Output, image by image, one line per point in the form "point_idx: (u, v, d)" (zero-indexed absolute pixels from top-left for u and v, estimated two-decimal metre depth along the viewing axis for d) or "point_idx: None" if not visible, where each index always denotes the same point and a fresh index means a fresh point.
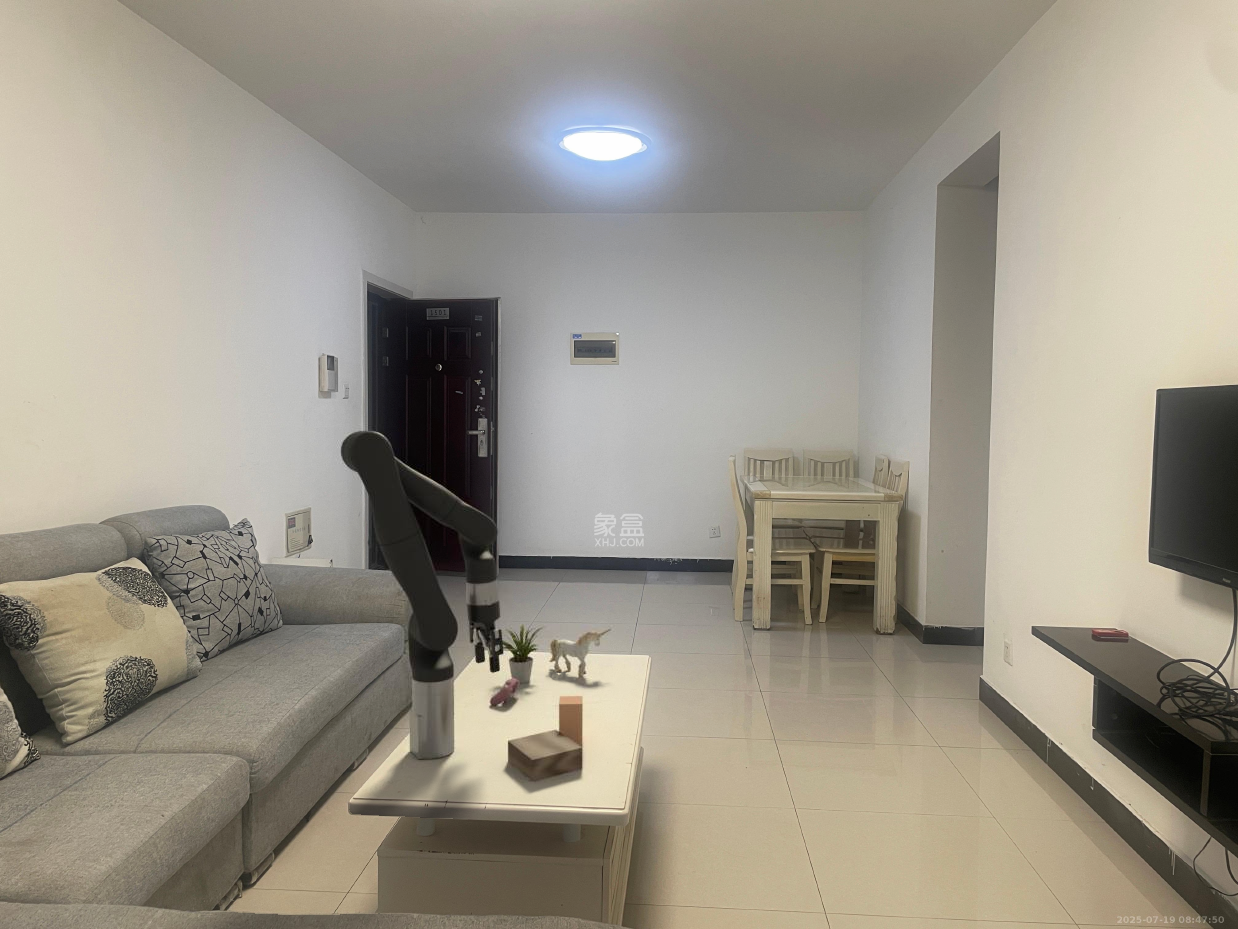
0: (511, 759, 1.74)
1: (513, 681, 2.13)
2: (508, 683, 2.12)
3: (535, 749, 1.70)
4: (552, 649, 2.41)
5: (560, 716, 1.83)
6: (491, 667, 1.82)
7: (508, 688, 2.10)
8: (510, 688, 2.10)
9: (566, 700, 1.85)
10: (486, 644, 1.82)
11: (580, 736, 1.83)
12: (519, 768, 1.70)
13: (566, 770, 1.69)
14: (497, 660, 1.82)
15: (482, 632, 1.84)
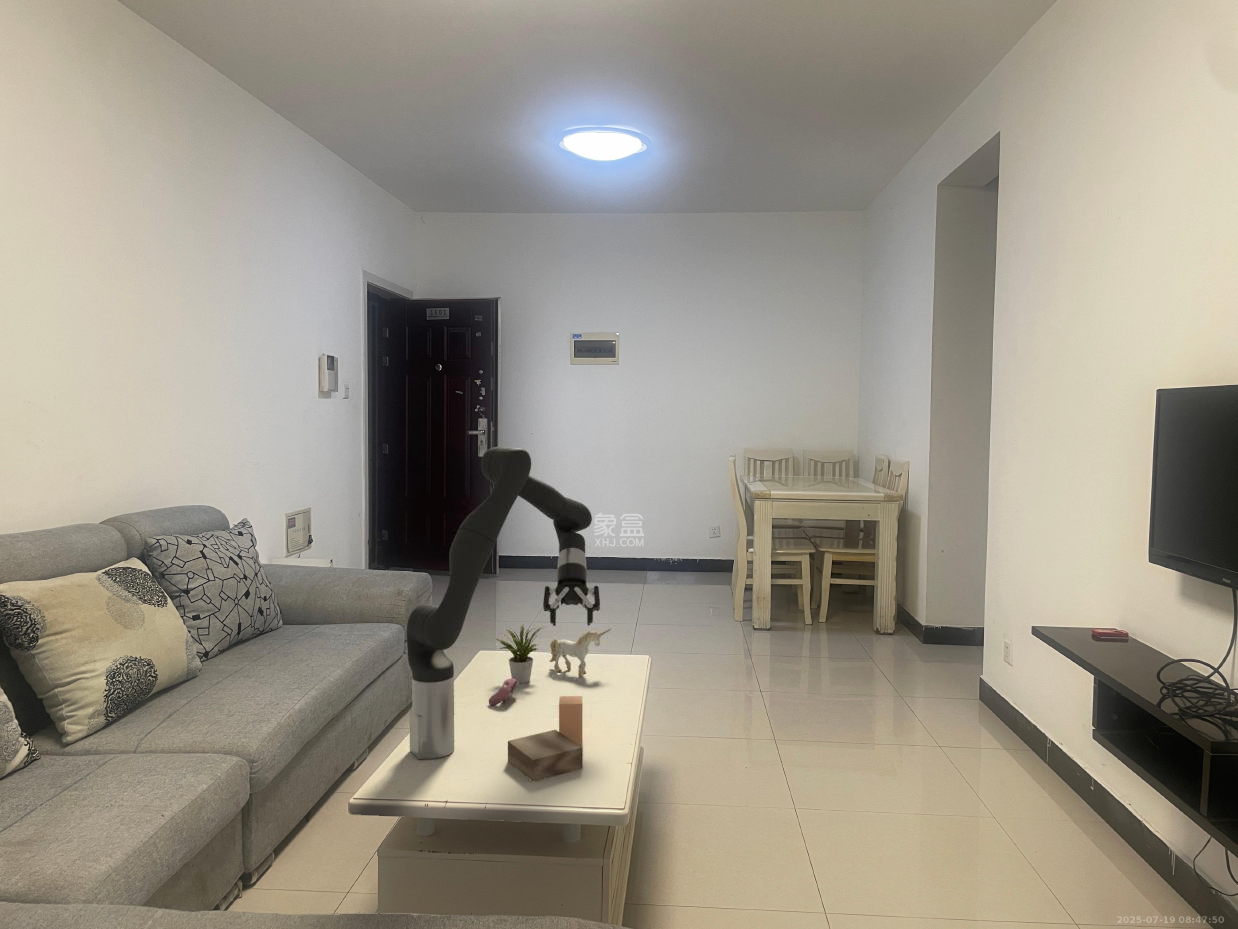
0: (511, 760, 1.73)
1: (512, 681, 2.13)
2: (507, 683, 2.12)
3: (535, 749, 1.70)
4: (552, 649, 2.41)
5: (560, 716, 1.83)
6: (589, 617, 1.97)
7: (507, 688, 2.10)
8: (509, 688, 2.10)
9: (566, 700, 1.85)
10: None
11: (580, 736, 1.83)
12: (519, 768, 1.70)
13: (566, 770, 1.69)
14: None
15: None
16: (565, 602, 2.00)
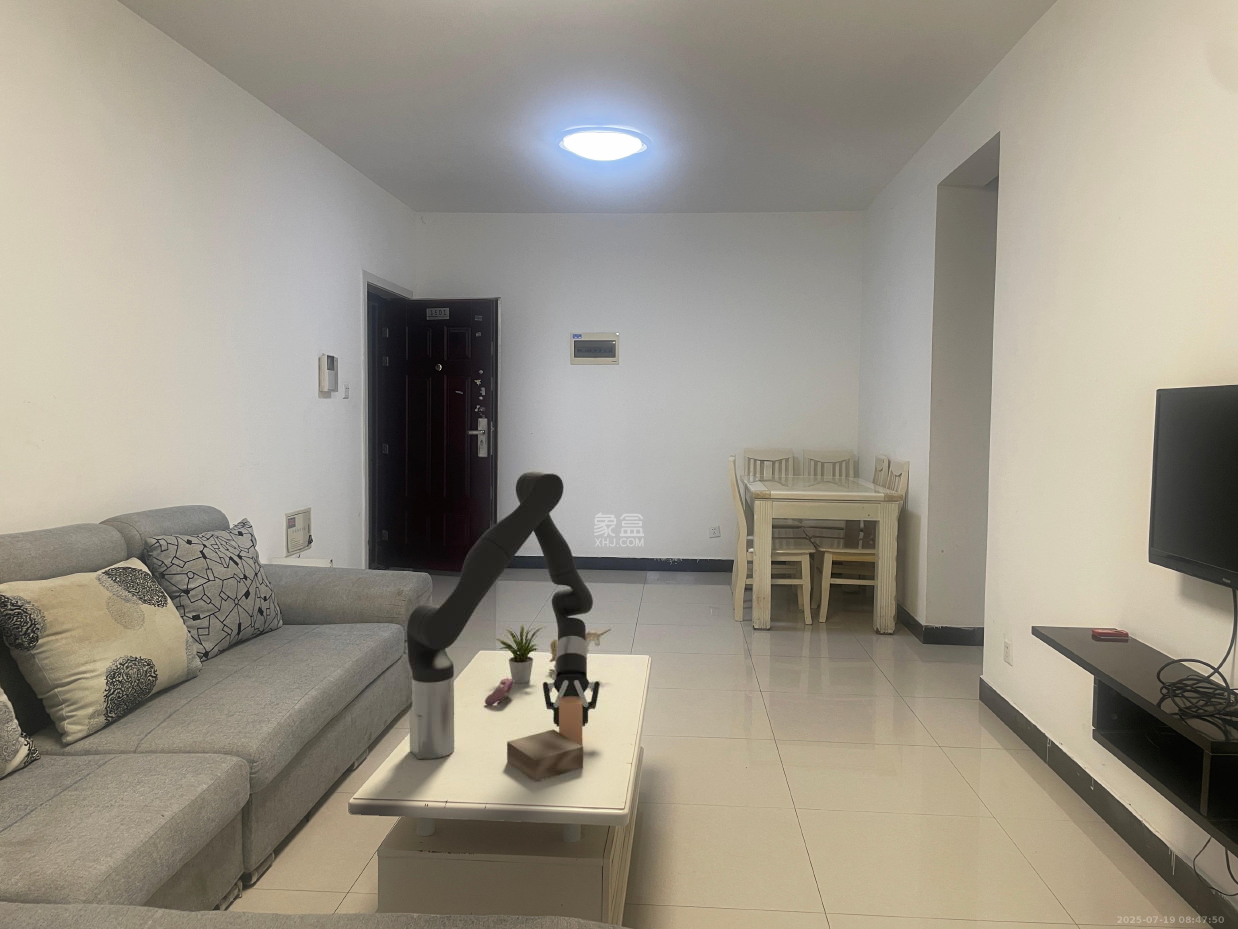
0: (511, 760, 1.73)
1: (508, 681, 2.13)
2: (503, 683, 2.12)
3: (536, 749, 1.70)
4: (552, 649, 2.41)
5: (560, 716, 1.83)
6: (584, 717, 1.84)
7: (503, 688, 2.10)
8: (505, 688, 2.10)
9: (566, 700, 1.85)
10: None
11: (580, 736, 1.83)
12: (520, 768, 1.70)
13: (567, 770, 1.70)
14: None
15: None
16: None
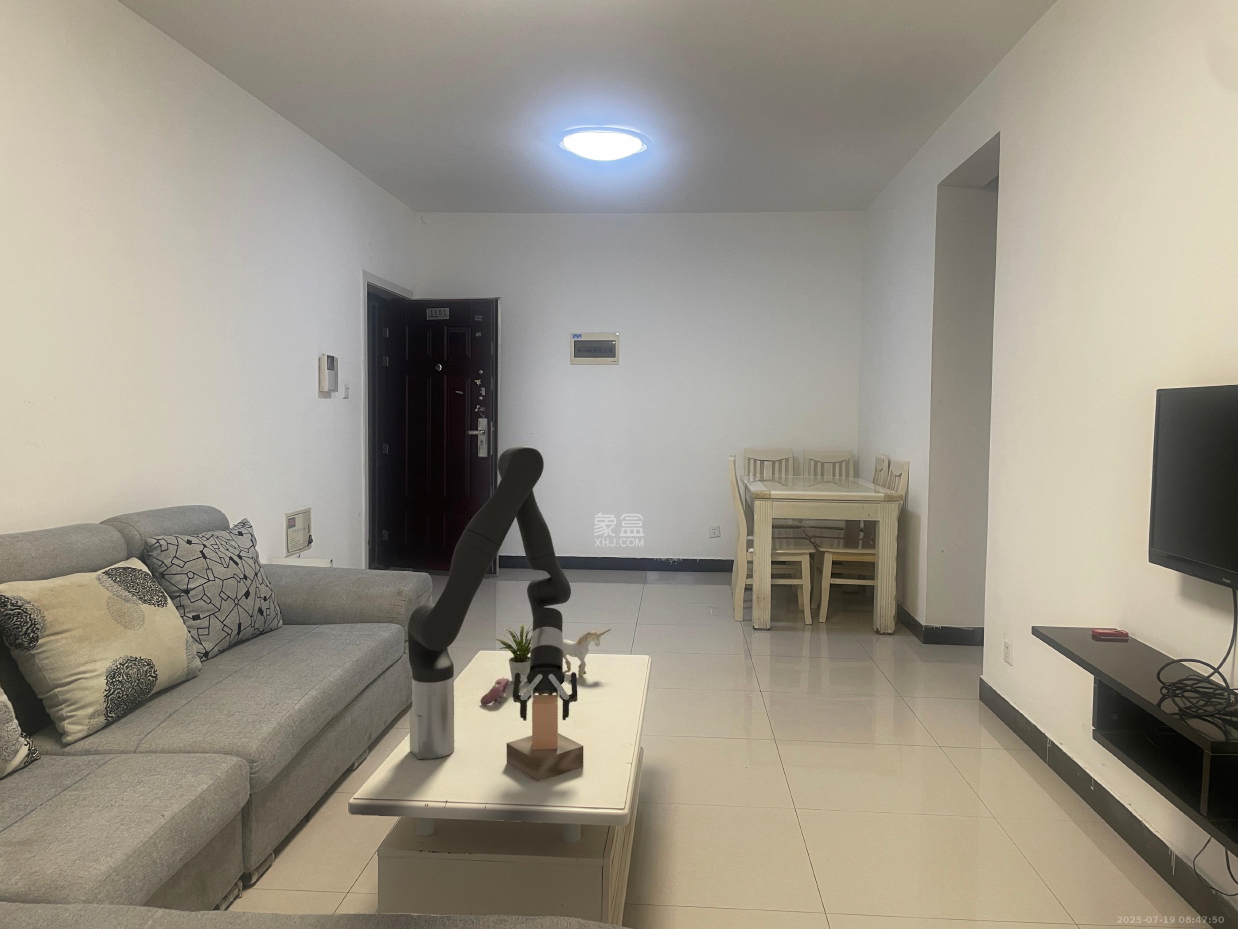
0: (511, 762, 1.73)
1: (503, 680, 2.13)
2: (498, 682, 2.12)
3: (537, 750, 1.70)
4: None
5: (533, 717, 1.70)
6: (565, 711, 1.72)
7: (499, 687, 2.10)
8: (501, 687, 2.10)
9: (540, 700, 1.72)
10: None
11: (555, 738, 1.70)
12: (521, 769, 1.70)
13: (568, 769, 1.70)
14: None
15: None
16: (538, 692, 1.75)
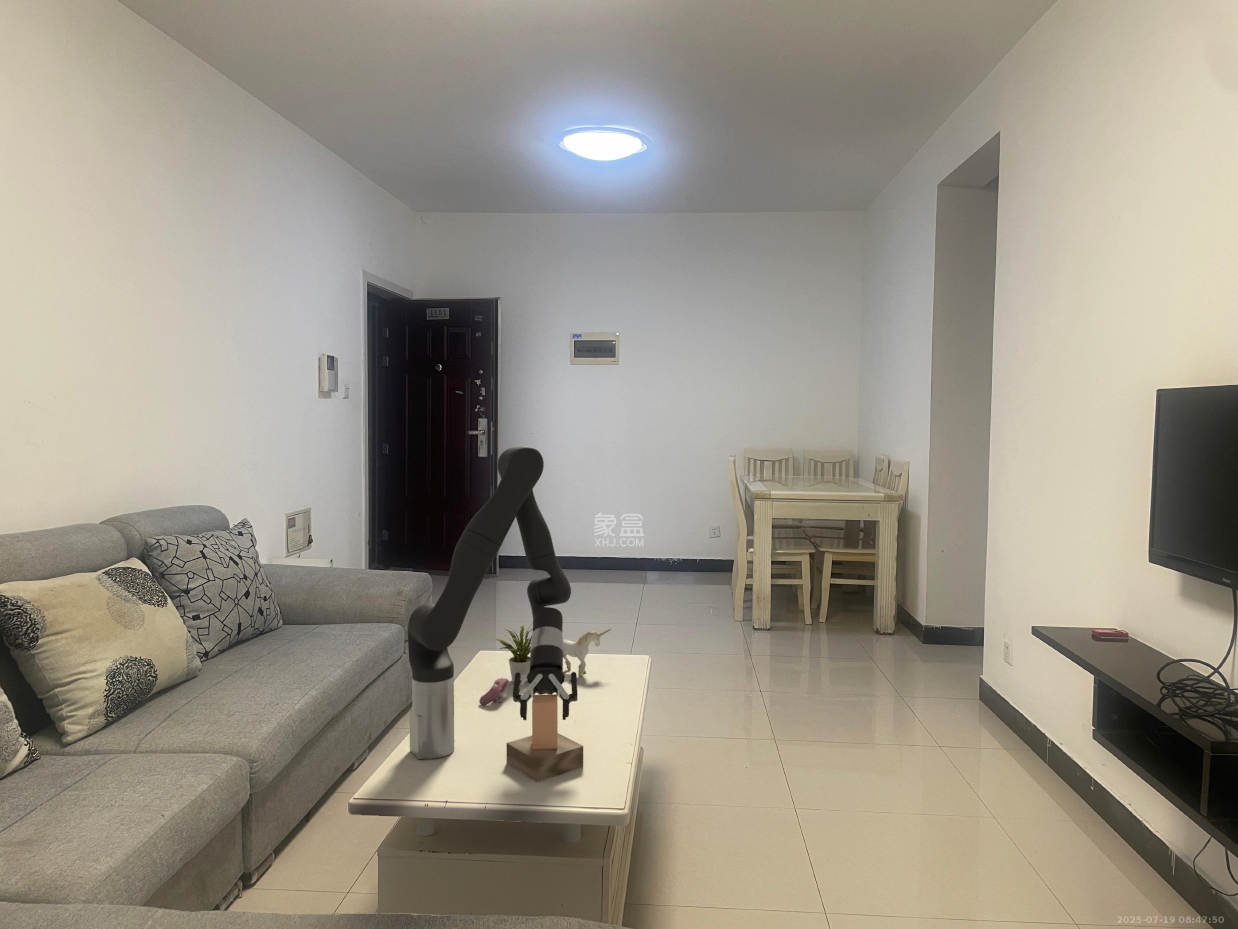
0: (510, 762, 1.73)
1: (502, 680, 2.13)
2: (497, 682, 2.12)
3: (536, 750, 1.70)
4: None
5: (533, 716, 1.70)
6: (565, 710, 1.72)
7: (497, 687, 2.10)
8: (499, 687, 2.10)
9: (540, 699, 1.72)
10: None
11: (555, 737, 1.71)
12: (521, 769, 1.70)
13: (568, 769, 1.70)
14: None
15: None
16: (538, 691, 1.76)
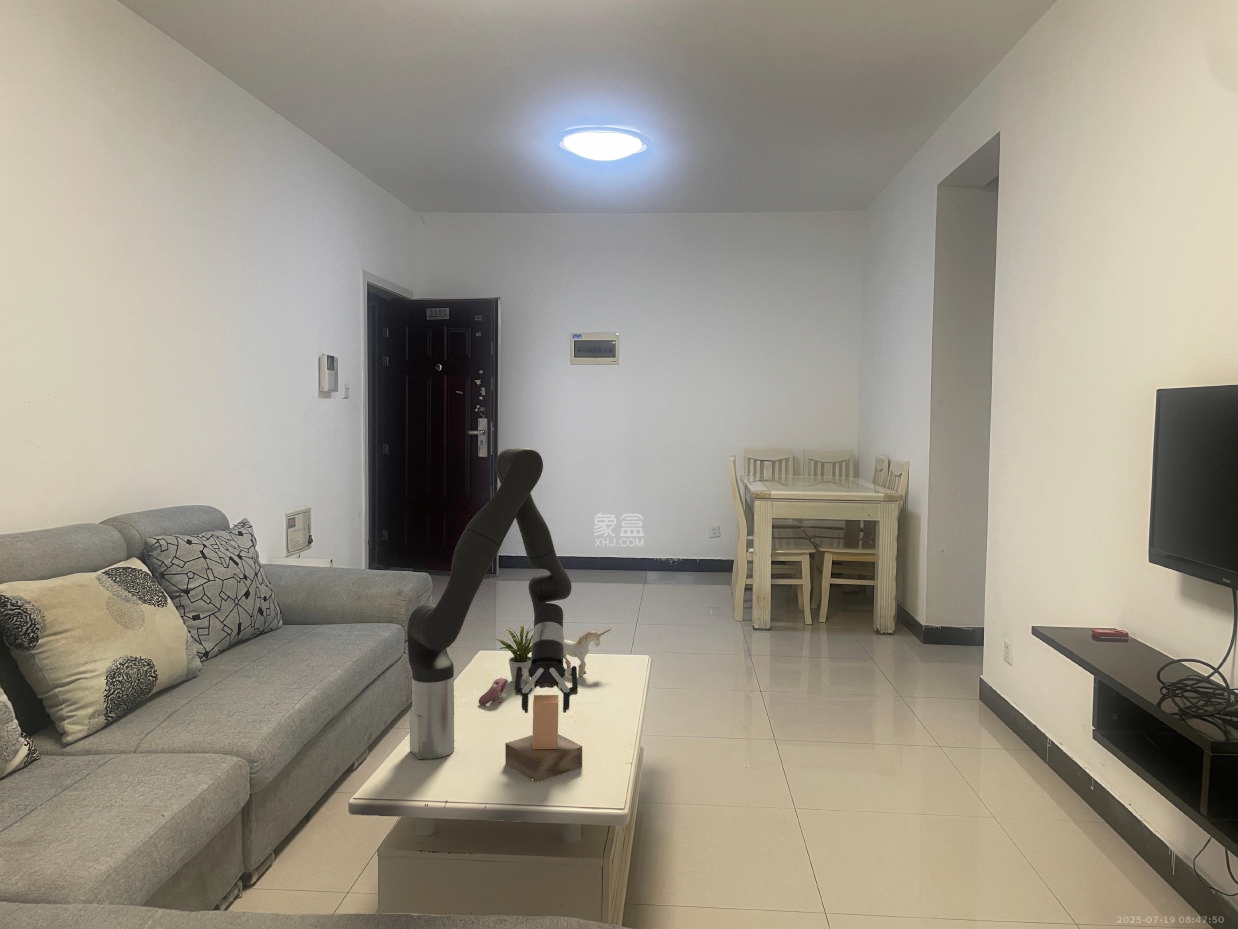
0: (509, 762, 1.72)
1: (501, 680, 2.14)
2: (496, 682, 2.12)
3: (535, 750, 1.70)
4: None
5: (534, 716, 1.70)
6: (565, 703, 1.76)
7: (497, 687, 2.10)
8: (499, 687, 2.10)
9: (541, 699, 1.72)
10: None
11: (555, 738, 1.70)
12: (519, 770, 1.69)
13: (567, 770, 1.70)
14: (569, 700, 1.78)
15: None
16: (539, 685, 1.80)
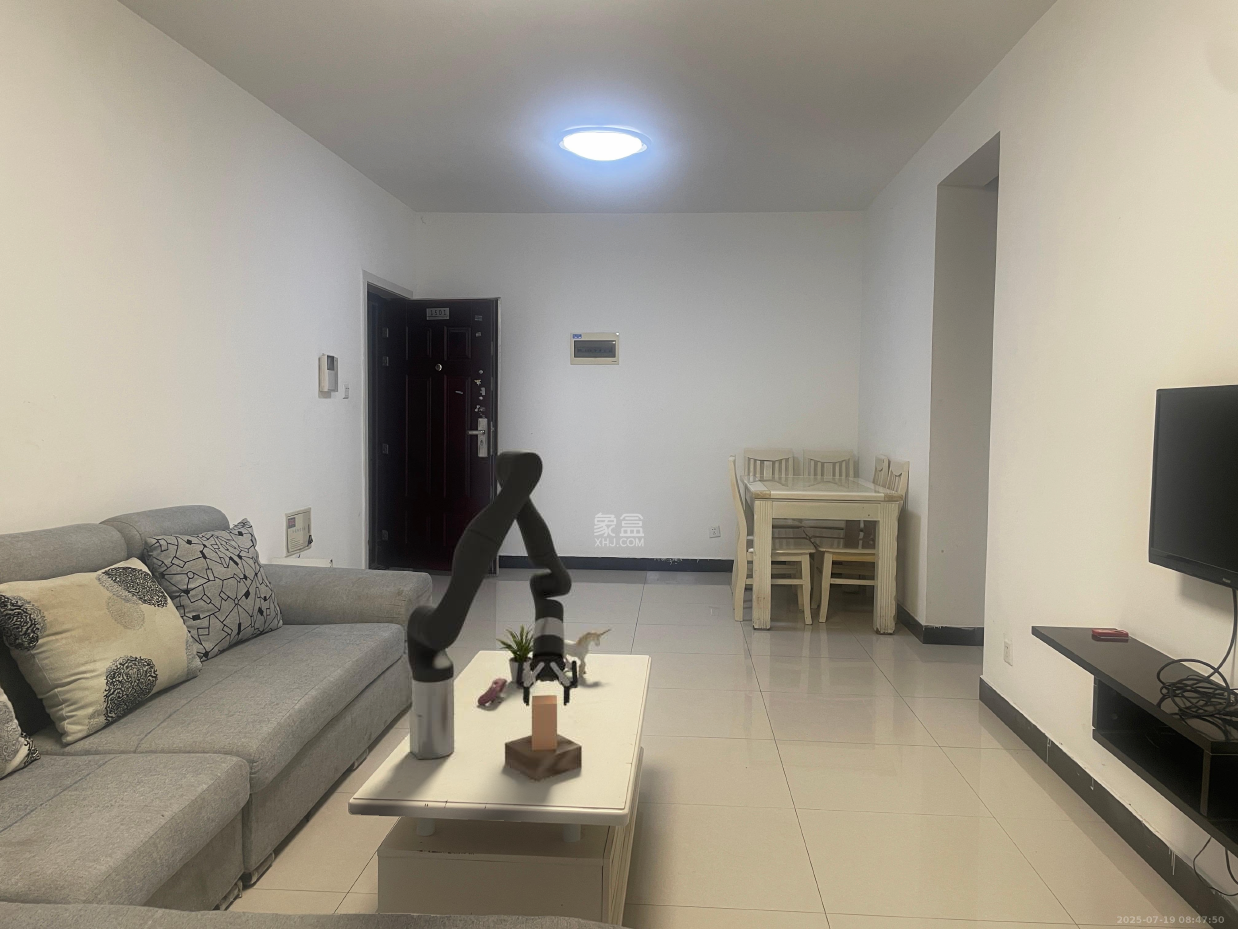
0: (509, 762, 1.73)
1: (501, 680, 2.14)
2: (496, 682, 2.12)
3: (535, 750, 1.70)
4: None
5: (533, 717, 1.70)
6: (566, 697, 1.81)
7: (496, 687, 2.10)
8: (498, 687, 2.11)
9: (540, 700, 1.72)
10: None
11: (554, 738, 1.70)
12: (519, 769, 1.70)
13: (566, 769, 1.70)
14: None
15: None
16: (540, 679, 1.84)
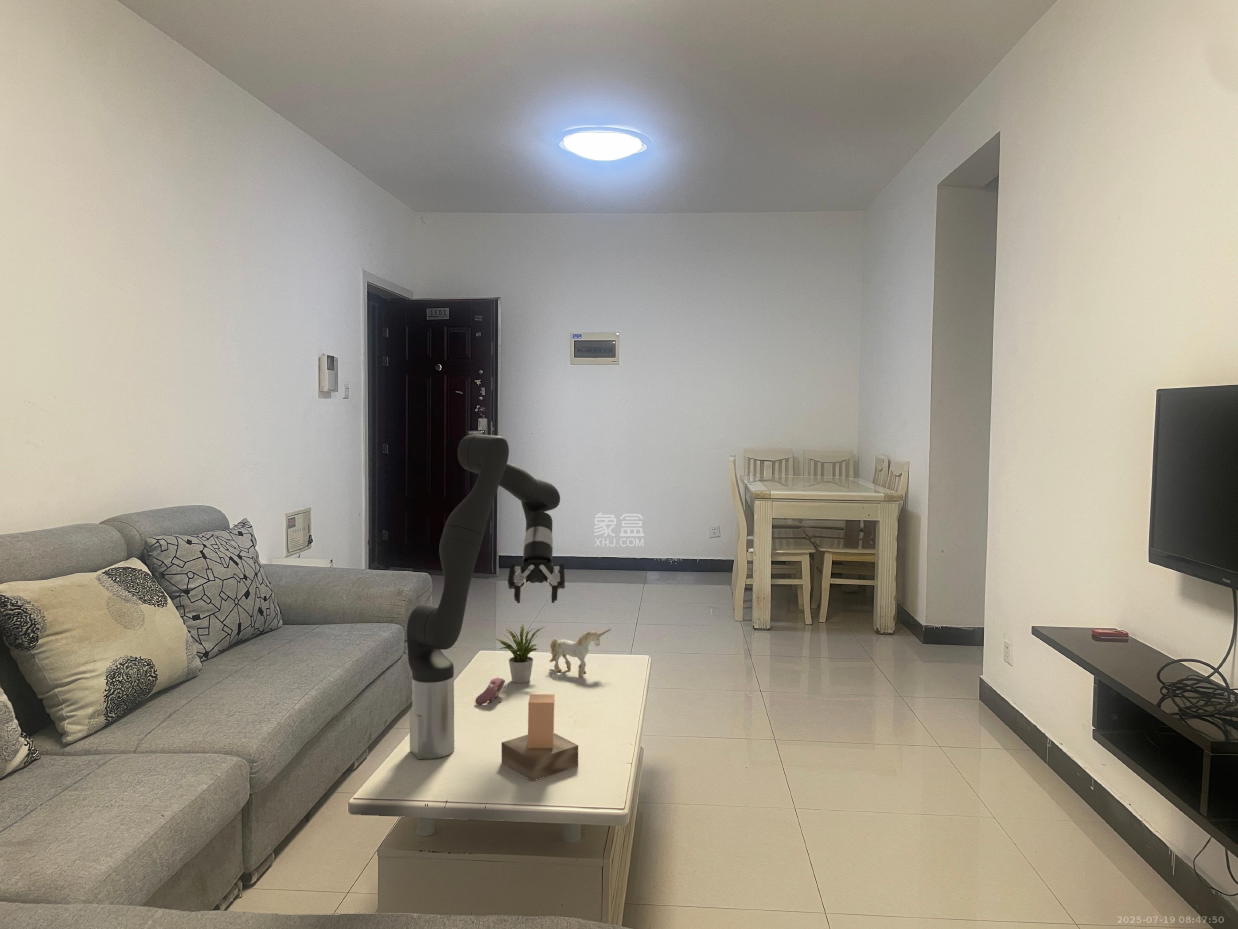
0: (505, 761, 1.73)
1: (498, 680, 2.14)
2: (493, 682, 2.12)
3: (531, 749, 1.70)
4: (552, 649, 2.41)
5: (529, 715, 1.70)
6: (554, 594, 1.96)
7: (493, 687, 2.10)
8: (495, 687, 2.11)
9: (537, 699, 1.72)
10: None
11: (550, 737, 1.71)
12: (516, 769, 1.70)
13: (563, 769, 1.70)
14: None
15: None
16: (530, 580, 2.00)
